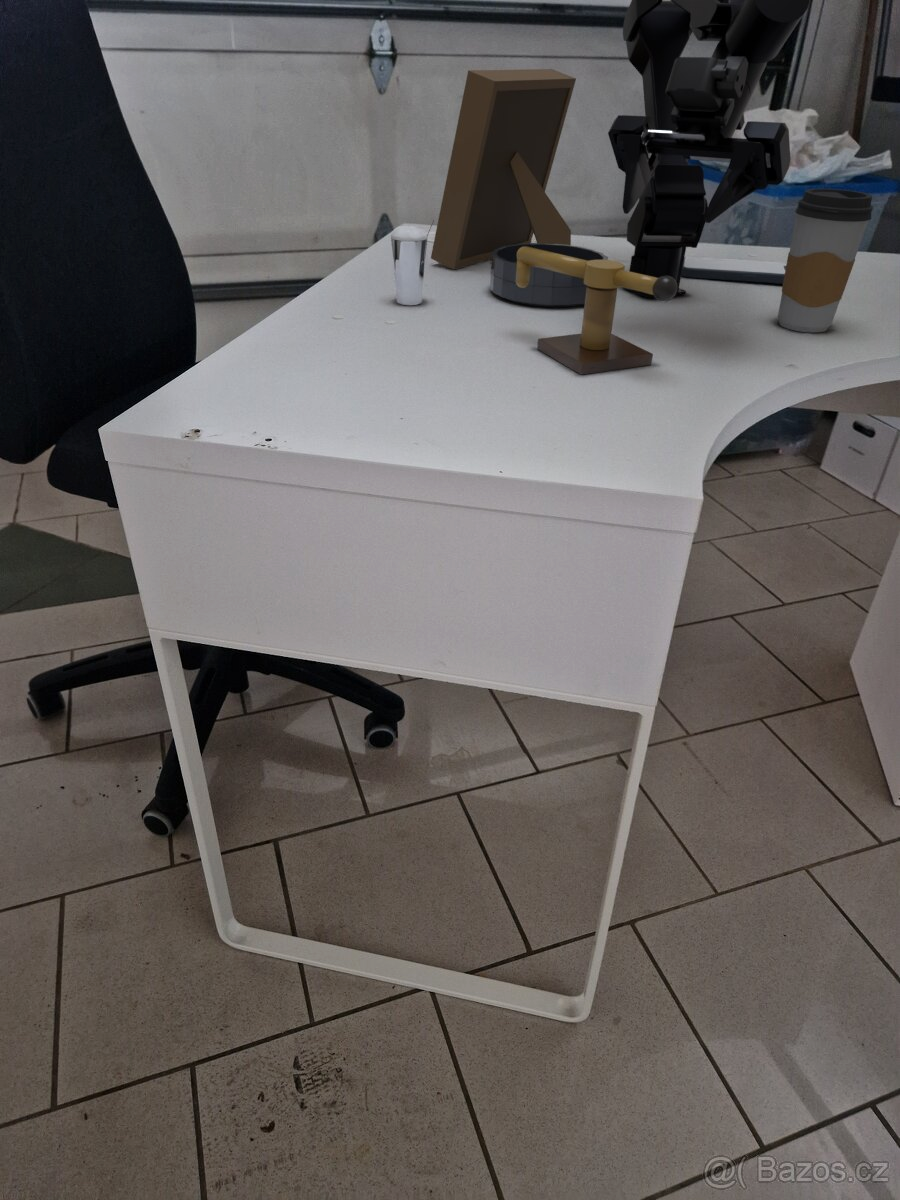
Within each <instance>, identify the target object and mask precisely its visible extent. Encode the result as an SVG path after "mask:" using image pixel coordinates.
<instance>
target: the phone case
mask: <svg viewBox="0 0 900 1200" xmlns="http://www.w3.org/2000/svg"><path fill="white" fill-rule="evenodd" d="M786 265H787V262H781V261H766V260H751V259H749V260H748V259H734V258H733V259H732V258H716V257H704V256H703V257H701V256H700V257H699V256H685V257H684V263H683V268H682V274H681V277H683V278H695V279H708V280H709V279H710V280H722V281H723V280H724V281H736V282H737V281H739V282H753V283H765V284H777V285H783V281H784V276H785V270H786Z"/></svg>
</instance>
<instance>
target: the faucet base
mask: <svg viewBox="0 0 900 1200" xmlns="http://www.w3.org/2000/svg"><path fill="white" fill-rule="evenodd" d="M617 295H618V288H613V289H602V288H594V287H590V286H587V289H586V297H585V304H584V307H583V315H582V322H581V323H582V324H581V333H574V334H565V335H555V336H550V337H539V338H538V339H537V348H536V349H537V350H538V351H539V352H541V353H543V354H545V355H547V356H548V357H550V358H551V359H553V360H555V361H556V362H558V363H560V364H562V365H564V366H565V367H567V368H569V369H570V370H572V371H574V372H576V373H577V374H579V375H581V376H582V375H587V374H588V375H589V374H594V373H603V372H610V371H615V370H616V371H617V370H622V369H623V370H625V369H630V368H638V367H645V366H650V365H652V363H653V357H654V354H653V353H652V352H650V351H648V350H646V349H644V348H642V347H640V346H638V345H636V344H634V343H632V342H630V341H628V340H625V339H623V338H621V337H619V336H618V335H616V334H613V333H612V331H613V324H614V316H615V310H616V302H617Z"/></svg>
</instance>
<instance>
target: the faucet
mask: <svg viewBox="0 0 900 1200" xmlns="http://www.w3.org/2000/svg"><path fill="white" fill-rule="evenodd" d="M531 266H535V267H539V268H543V269H547V270H551V271H555V272H559V273H563V274H567V275H571V276H575V277H579V278H583V279H584V281H583V283H584V284H585V285H587V286H590V287H594V288H602V289H613V288H617V289H618V288H623V287H624V288H623V289H625V288H628V289H632V290H636V291H640V292H644V293H648V294H652V295H654V297H655V298H654V299H656V300H657V301H659V302H662V303H663V302H668V301H671V300H672V299H673V298H674V297H675V295H676V292H677V283H676V281H675V279H674V278H672V277H671V276H661V277H659V278H656V277H652V276H647V275H643V274H639V273H634V272H630V271H629V270H625V264H624V263H623V262H620V261H617V260H613V259H612V260H611V259H607V260H590V261H587V260H583V259H579V258H574V257H570V256H566V255H561V254H557V253H553V252H548V251H544V250H540V249H535V248H531V247H527V246H523V247H521V248H520V249H519V250H518V251H517V269H516V284H517V285H518V286H519V287H521V288H524V287H526V286H528V284H529V282H530V272H531ZM676 296H677V295H676Z"/></svg>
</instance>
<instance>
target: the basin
mask: <svg viewBox="0 0 900 1200" xmlns="http://www.w3.org/2000/svg"><path fill="white" fill-rule="evenodd" d="M523 246H527V247H531V248H535V249H540V250H544V251H548V252H553V253H557V254H561V255H566V256H570V257H574V258H579V259H583V260H587V261H590V260H608V259H609V257H608V256H606V255H605V254H604V253H603V252H601V251H597V250H595V249H592V248H587V247H584V246H583V247H582V246H578V245H572V244H571V245H564V244H550V243H537V242H531V243H524V244H512V245H507V246H502V247H499V248H497V249H495V250H494V251H493V252H492V259H490V260H491V263H490V281H489V288H490V290H491V292H492V293H493V294H494V295H497V296H499V297H501V298H503V299H505V300H506V301H507V300H508V301H510V302H514V303H517V304H521V305H522V304H523V305H528V306H535V307H547V308H567V307H576V306H582V305H585V297H586V289H587V285H585V284H584V283H583V281H584V279H583V278H579V277H575V276H571V275H567V274H563V273H559V272H555V271H551V270H547V269H543V268H539V267H535V266H531V272H530V282H529V284H528V286H526V287H524V288H521V287H519V286H518V285H517V284H516V269H517V251H518V250H519V249H520V248H521V247H523Z"/></svg>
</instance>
